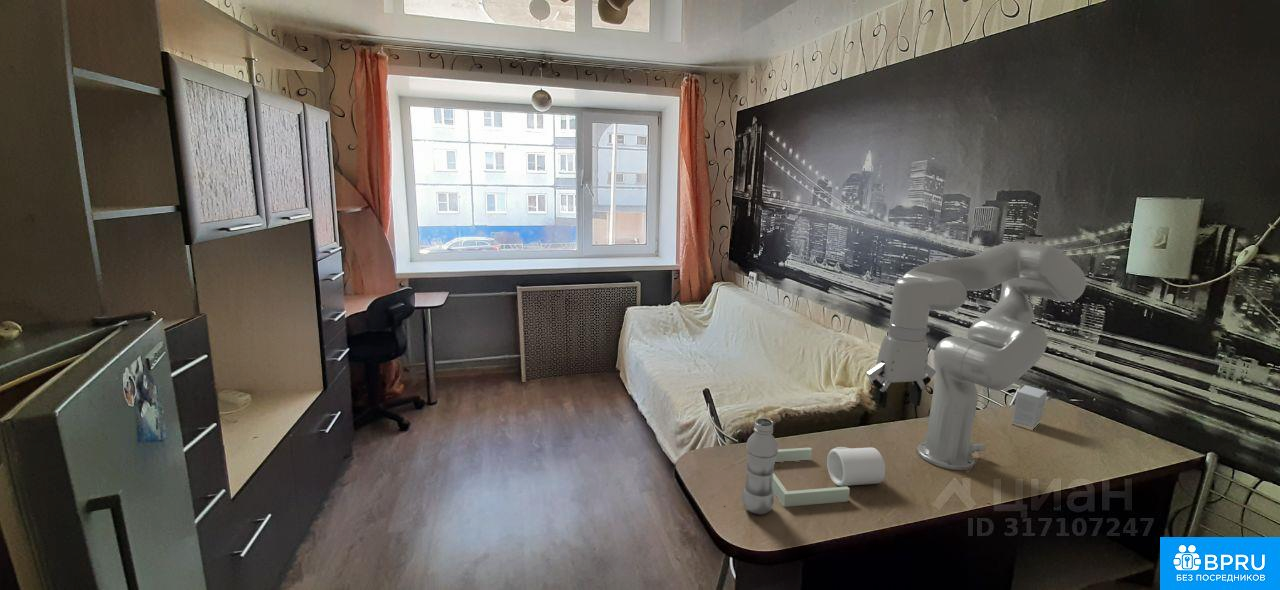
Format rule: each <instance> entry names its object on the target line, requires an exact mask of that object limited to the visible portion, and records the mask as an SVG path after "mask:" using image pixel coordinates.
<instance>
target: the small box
mask: <svg viewBox="0 0 1280 590" xmlns="http://www.w3.org/2000/svg"><path fill="white" fill-rule="evenodd" d="M1047 394H1048V390H1046V389H1041V388H1038V387H1034V386H1030V385H1028V384H1027V385H1026V384H1025V385H1024V386H1022V387H1021V388H1020V389H1019V390H1018V391H1016V396H1015V401H1014V407H1013V412H1012V418H1011V422H1012V423H1016V424H1021V425H1025V426H1029V427H1033V428H1034V427H1035V426H1036V425H1037V423H1038V422H1039V421H1040V420H1041V421H1042V418H1043V413H1044V410H1045V405H1046V399H1047V396H1048V395H1047Z"/></svg>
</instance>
